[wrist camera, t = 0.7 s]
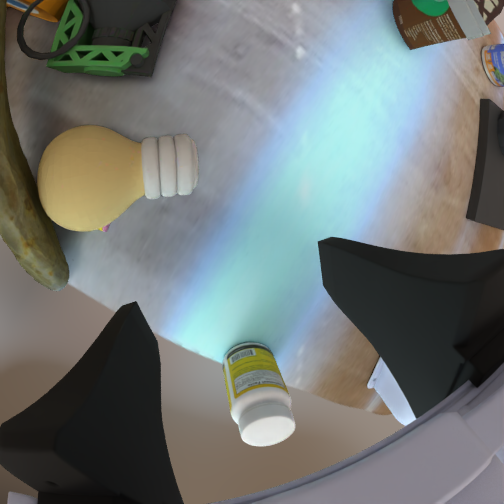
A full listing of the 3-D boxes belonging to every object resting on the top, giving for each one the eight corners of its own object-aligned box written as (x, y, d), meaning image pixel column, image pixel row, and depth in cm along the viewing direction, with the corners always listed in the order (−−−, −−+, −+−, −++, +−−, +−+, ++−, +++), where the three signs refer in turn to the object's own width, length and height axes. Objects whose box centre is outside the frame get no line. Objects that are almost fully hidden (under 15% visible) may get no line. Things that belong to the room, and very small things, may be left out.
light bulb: (187, 130, 19) (57, 149, 17) (200, 94, 13) (22, 123, 11) (195, 216, 20) (61, 236, 17) (210, 213, 14) (24, 241, 11)
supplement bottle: (257, 383, 27) (278, 451, 19) (213, 372, 25) (224, 445, 17) (282, 348, 26) (313, 416, 18) (236, 333, 24) (255, 408, 16)
